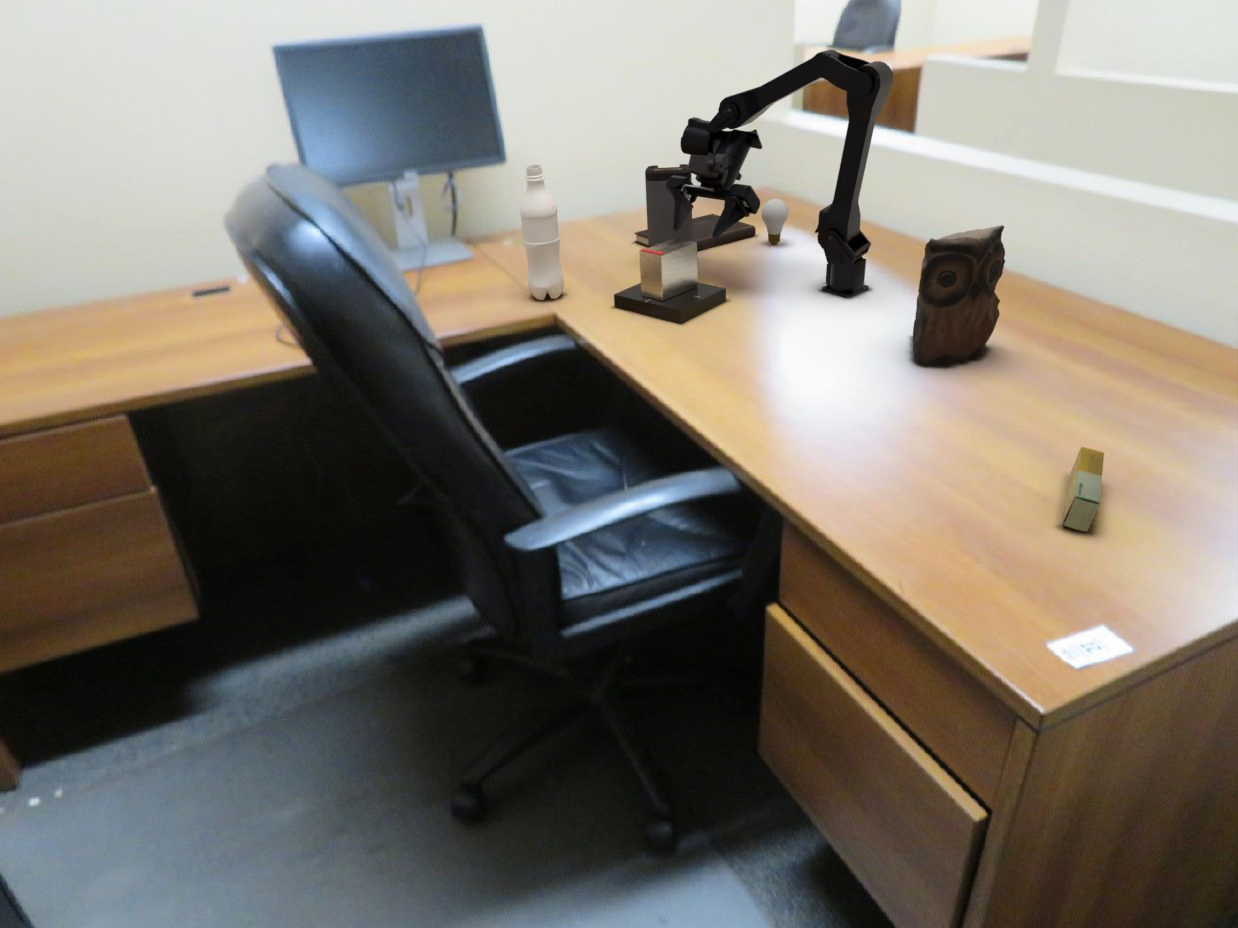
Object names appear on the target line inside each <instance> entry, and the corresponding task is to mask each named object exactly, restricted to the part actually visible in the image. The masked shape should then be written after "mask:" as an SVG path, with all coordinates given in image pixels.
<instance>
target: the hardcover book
mask: <svg viewBox="0 0 1238 928" xmlns="http://www.w3.org/2000/svg"><path fill="white" fill-rule="evenodd" d="M720 216H721V215H718V214H715V213H709V214H705V215H701V216H697V217H692V237H693V242H697V252H698V251H701V250H706V249H708V248H713V247H717V246H721V245H724V244H728V243H733V242H735V241H739V240H743V239H746V238H751V237H754V236H755V235H756V233H757V231H756V230H757V229H756V226H755V225H753V224H749V223H746V222H742V221H738V222H737V223H735V224H734V225H732V226H731V227H730V228H729V229H727V230H726V231H725V232H724V233H722V234H721V235H720V236H719V237H718V238H716V239H715V238H714V237H713V236H712V235H713V232H714V229H715V226H716V224H717V222H718V220H719V218H720ZM634 235H635V236H636V237H635V239H636V240H634V243H636V244H639V245H641V246H644V247H647V248H648V229H647V228H646V229H643V230H639V231H635V232H634Z"/></svg>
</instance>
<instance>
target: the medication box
mask: <svg viewBox="0 0 1238 928" xmlns="http://www.w3.org/2000/svg"><path fill="white" fill-rule="evenodd" d="M1104 458H1105V452H1104V451H1100V450H1097V449H1093V448H1090V447H1085V446H1081V447H1080V448H1079V451H1078V454H1077V456H1076V457H1075V460H1074V463H1073V465H1072V468H1071V470H1070V473H1069V479H1068V485H1067V491H1066V497H1065V503H1064V509H1063V517H1062V525H1061V526H1062V527H1065V528H1068V529H1070V530H1073V531H1076V532H1081V533H1088V530H1089V528H1090V526H1091V525H1092V522H1093V520H1094V518H1095V516H1096V513H1097V512H1098V510H1099V507H1100V501H1101V494H1102V493H1101V492H1102V484H1103V483H1102V481H1103V472H1104V471H1103V470H1104Z"/></svg>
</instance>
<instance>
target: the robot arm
mask: <svg viewBox="0 0 1238 928" xmlns="http://www.w3.org/2000/svg"><path fill="white" fill-rule="evenodd" d="M821 79H823V80H826V81H827V82H829V83H830V84H831V85H832V86H834V87H836V88H838V89H840V90H842V91H845V92H846V95H845V96H846V99H845V105H846V110H847V111H846V112H847V116H848V124H847V129H846V133H845V139H844V143H843V149H842V154H841V158H840V162H839V163H840V164H839V167H838V168H839V169H838V174H837V179H836V184H835V189H834V194H833V198H832V201H831V203H830V204H828V205H827V206H825V207H824V208H823V209H820V210H819V212H818V223H817V224H818V225H817V227H816V229H815V231H814V234H817V243H818V244H819V246H820V248H821V249H822V250H823V253H824V256H825V260H826V267H825V268H826V269H825V270H826V272H825V285H824V286H822V287H821V291H824V292H827V293H831V294H835V295H838V296H841V297H846V298H851V297H853V296H854V295H857V294H860V293H862V292H865V291H866V290H869V285H866V284H865V278H866V277H865V275H866V266H867V258H864V257H863V256H865V255H867V254H868V253H869V250H870V248H871V246H872V242H871V241H870V240H869V239H868V237H867V236H866V235H865V234H864V232H862V230H861V209H860V205H859V200H860V199H859V198H860V195H861V190H862V185H863V180H864V177H865V171H866V166H867V163H868V162H867V161H868V157H869V151H870V148H871V143H872V139H873V135H874V129H875V124H876V121H877V119H878V117H879V115H880V113H881V112H882V110H883V107H884V105H885V104H886V102H887V100H888V97H889V93H890V92H891V89H892V86H893V84H894V71H892V69H891V67H890V66H889V65H888V64H887V63H886V62H884V61H881V60H876V61H872V62H871V61H870V62H869V61H867V60H864V59H863V58H858V57H854V56H850V55H846V54H843V53H842V52H839V51H837V50H835V49H826V50H822V51H820V52H817V53H816V54H814V55H813V56H812V57H811V58H809V59H808V60H805V61H803V62H802V63H800V64H799V65H796V66H795V67H792V68H791V69H789V70H787V71H786V72H784V73H782V74H780V75H779V76H777V77H774V78H772V79H771V80H769V81H767V82H766V83H764V84H762V85H760V86H756V87H754V88H751V89H747V90H745V91H742V92H738V93H735V94H731V95H729V96H726V97H724V98H723V99H722V100H720V102H719V106H718V112H717V113H716V114H715V115H714V116H713V118H712V119H711V120H705V119H703V118H700V117H695V116H692V117H690V118H688V119H687V124H686V127H685V128H684V130H683V132H682V136H681V137H680V150H681V152H682V153H683V154H685V155H689V160H688V168H687V172H688V173H691V174H693V175H695V180H696V182H698V183H700V185H695V184H694V183H693V182H691V181H690V179H689V178H688V177H682V176H675V175H674V176H671V177H670V178H669V179H668V181H667V184H666V186H665V187H666V188H667V189H668V191H669V192H670V194H671V195H672V196H673V197H674V200H675V212H674V222H673V230H674V231H678V229H679V228H680V227H681V226H682V224H683V223H684V221H685V220H686V218H687V216H688V215H689V213H690V212H691V210H692V211H693V210H694V205H693V203H696V201H697V199H698V198H704V199H711V200H717V201H724V203H723V209H722V211H721V214H720V215H719V216H720V218H719V220H718V222H717V224H716V226H715V229H714V232H713V235H712V236H713V237H714V238H715V239H716V238H718V237H719V236H720V235H721V234H722V233H724V232H725V231H726V230H727V229H729V228H730V227H731V226H732V225H734V224H735V223H737V222H738V221H739V222H741V220H743V219H744V218H749V217H750V215H756V214H758V212H759V209H760V208H761V199H760V198H759V196H758V194H757V193H756V191H755V190H754V188H753V187H752V186H751V185H748V184H741V183H735V182H736V181H741V179H742V177H743V174H741V172H740V171H741V169H742V167H743V165H744V163H745V161H746V158H747V157H748V154H749V153H750V150H751V149H756V150H762V149H763V144H762V141H761V139H760V135H759V132H758V130H757V129H753V130H749V131H748V130H747V131H746V130H742V129H738V128H741V127H744V126H746V125H749V124H751V123H754V121H756V120H757V119H758V118H759V117H761V116H762V115H764V113H766V112H767V111H768V110H769V109H770V108H771V107H772V106H773V105H775V104H776V103H778V102H780V101H782V100H784V99H785V98H787V97H789V96H792V95H793V94H795V93H796V92H799V91H801V90H802V89H804V88H806V87H808V86H810V85H811V84H814V83H816V82H818V81H820V80H821ZM726 129H728V130H726Z"/></svg>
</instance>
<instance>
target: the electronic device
mask: <svg viewBox="0 0 1238 928" xmlns="http://www.w3.org/2000/svg"><path fill="white" fill-rule="evenodd" d="M688 164H689V163H688ZM688 164H687V163H680V164H679V166H671V167H659V165H658V164H657V165H655V164H653V165H649V166H647V167H646V168H645V170H644V176H645V177H644V178H645V179H644V181H645V182H644V183H645V204H646V224H647V227H646V230H647V229H648V247H647V248H649V247H652V246H655V245H657V244H660V243H663V242H665V241H668V240H671V239H674V238H678V239H683V240H688V241H693V237H692V219H693V209H692V210H691V212H690V213H689V215H688V216H687V218H686V220H685V221H684V223H683V224H682V226H681V227H680V228H679V229H678V231H674V230H673V222H674V212H675V200H674V197H673V196H672V195H671V194H670V192H669V191H668V189H667V188H666V187H665V186H666V184H667V181H668V179H669V178H670V177H671V176H674V175H675V176H682V177H688V178H689V179H690V181H691V182H692V173H688V172H687V168H688ZM692 183H693V182H692Z"/></svg>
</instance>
